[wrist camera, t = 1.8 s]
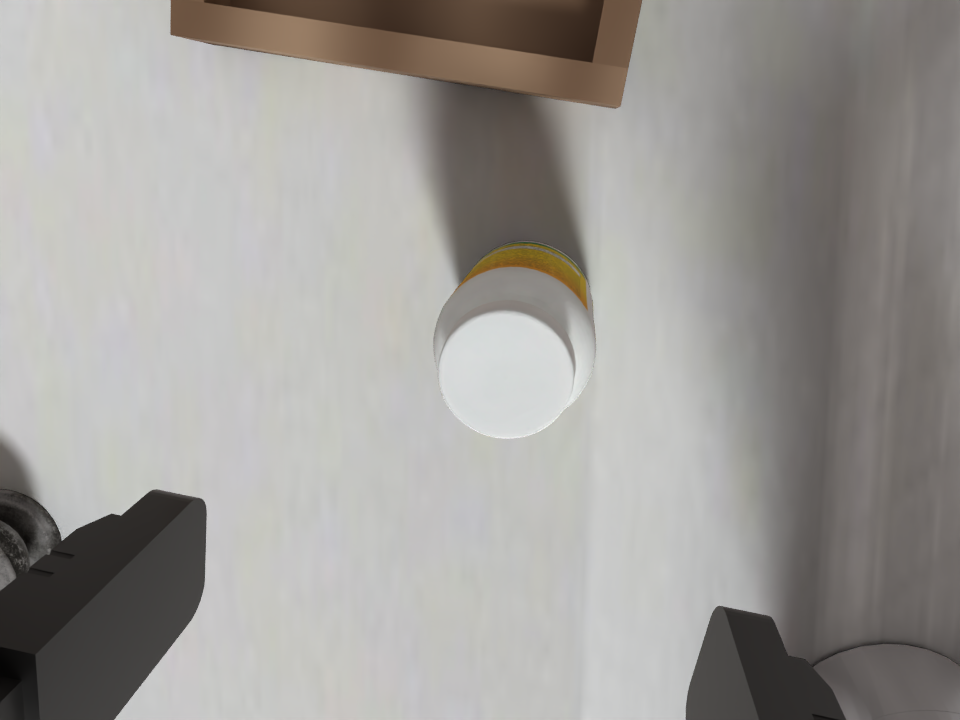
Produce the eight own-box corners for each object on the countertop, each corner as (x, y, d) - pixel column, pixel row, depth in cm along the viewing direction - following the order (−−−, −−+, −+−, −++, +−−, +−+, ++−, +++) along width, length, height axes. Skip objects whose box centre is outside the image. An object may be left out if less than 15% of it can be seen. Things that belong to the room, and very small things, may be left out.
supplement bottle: (606, 345, 30) (620, 440, 21) (485, 377, 31) (448, 480, 22) (571, 220, 28) (570, 264, 19) (446, 259, 29) (389, 316, 20)
